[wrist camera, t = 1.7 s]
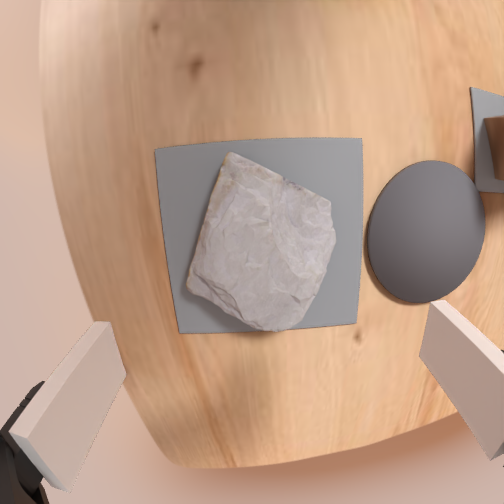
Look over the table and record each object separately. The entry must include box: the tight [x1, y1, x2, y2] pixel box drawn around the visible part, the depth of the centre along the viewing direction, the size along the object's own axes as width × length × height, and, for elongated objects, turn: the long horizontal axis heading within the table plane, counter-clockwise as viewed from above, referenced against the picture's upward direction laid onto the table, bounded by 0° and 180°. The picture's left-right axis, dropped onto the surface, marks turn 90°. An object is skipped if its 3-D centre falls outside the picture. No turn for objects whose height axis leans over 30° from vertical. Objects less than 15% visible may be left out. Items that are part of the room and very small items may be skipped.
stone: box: [186, 152, 336, 332], centre depth 23 cm, size 10×12×4 cm
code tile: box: [155, 138, 363, 333], centre depth 25 cm, size 16×16×1 cm
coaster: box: [367, 161, 485, 303], centre depth 24 cm, size 13×13×1 cm
